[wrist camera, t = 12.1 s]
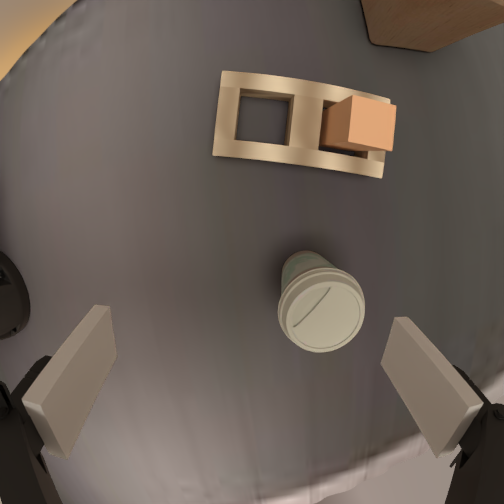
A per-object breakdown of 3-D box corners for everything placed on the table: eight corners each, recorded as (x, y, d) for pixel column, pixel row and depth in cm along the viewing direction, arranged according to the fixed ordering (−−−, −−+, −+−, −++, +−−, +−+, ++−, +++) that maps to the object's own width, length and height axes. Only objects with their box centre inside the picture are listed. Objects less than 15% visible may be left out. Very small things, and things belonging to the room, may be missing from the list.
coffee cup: (327, 229, 38) (360, 261, 26) (344, 290, 40) (376, 338, 29) (260, 252, 39) (266, 294, 27) (282, 312, 41) (294, 368, 30)
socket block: (216, 155, 35) (212, 155, 31) (225, 80, 32) (222, 70, 28) (367, 175, 36) (381, 178, 32) (374, 104, 33) (390, 99, 29)
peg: (316, 145, 35) (348, 141, 23) (319, 112, 34) (352, 94, 22) (348, 151, 35) (392, 150, 24) (352, 118, 34) (396, 105, 22)
